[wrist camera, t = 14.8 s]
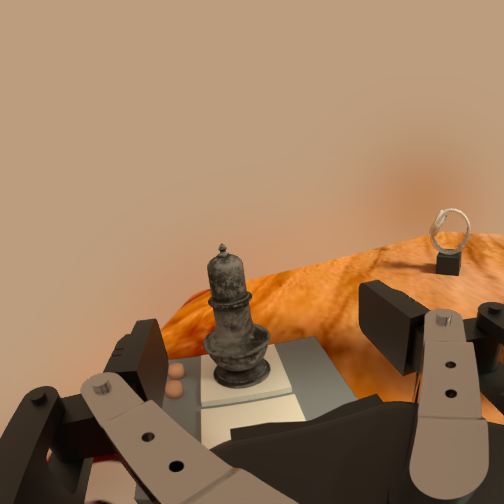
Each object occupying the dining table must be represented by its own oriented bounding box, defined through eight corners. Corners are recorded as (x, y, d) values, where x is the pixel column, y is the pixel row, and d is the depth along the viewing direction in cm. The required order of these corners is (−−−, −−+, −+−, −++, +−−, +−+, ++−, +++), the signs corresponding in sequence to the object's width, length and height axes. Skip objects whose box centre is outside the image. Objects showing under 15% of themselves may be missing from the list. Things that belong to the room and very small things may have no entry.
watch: (430, 263, 53) (431, 206, 50) (469, 267, 47) (471, 207, 45) (425, 272, 49) (426, 210, 46) (467, 276, 43) (470, 212, 41)
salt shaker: (203, 365, 29) (178, 245, 26) (257, 348, 31) (242, 232, 28) (222, 398, 24) (193, 258, 21) (285, 376, 26) (272, 241, 23)
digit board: (314, 345, 33) (314, 328, 33) (390, 462, 16) (396, 444, 15) (162, 369, 31) (157, 353, 31) (140, 507, 14) (128, 491, 14)
